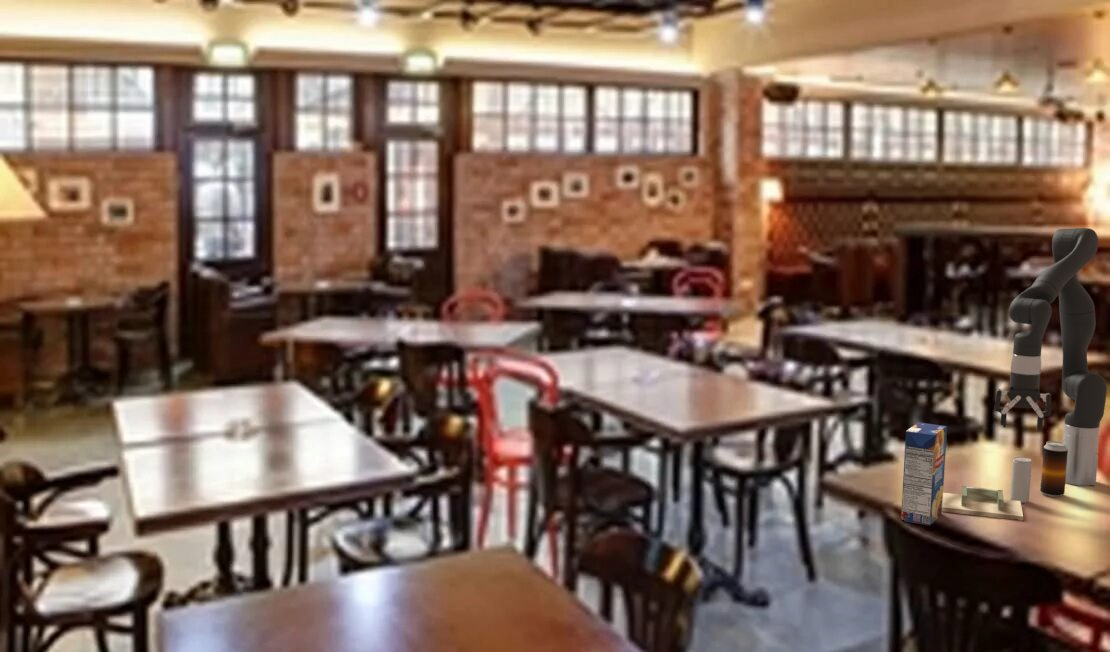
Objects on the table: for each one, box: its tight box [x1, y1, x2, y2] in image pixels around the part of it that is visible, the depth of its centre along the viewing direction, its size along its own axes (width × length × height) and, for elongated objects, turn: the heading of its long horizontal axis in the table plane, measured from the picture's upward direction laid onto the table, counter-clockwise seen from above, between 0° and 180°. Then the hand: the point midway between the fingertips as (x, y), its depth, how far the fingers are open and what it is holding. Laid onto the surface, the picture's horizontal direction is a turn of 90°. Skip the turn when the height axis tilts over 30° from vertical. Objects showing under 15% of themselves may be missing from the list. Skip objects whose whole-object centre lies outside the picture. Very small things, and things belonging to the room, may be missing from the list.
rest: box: [942, 485, 1024, 521], centre depth 288 cm, size 20×14×4 cm
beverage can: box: [1040, 440, 1068, 498], centre depth 300 cm, size 6×6×15 cm
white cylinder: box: [1009, 456, 1033, 504], centre depth 294 cm, size 5×5×12 cm
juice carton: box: [900, 422, 948, 526], centre depth 279 cm, size 12×8×24 cm, turn 146°
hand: (1020, 428), depth 293 cm, fingers open, 8 cm apart
